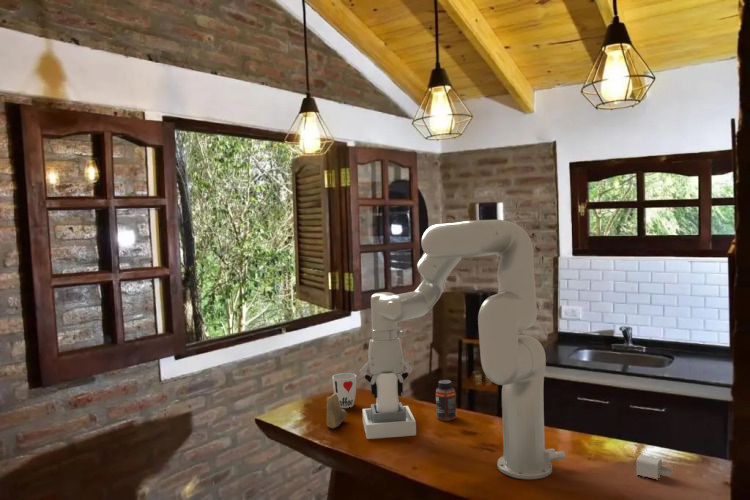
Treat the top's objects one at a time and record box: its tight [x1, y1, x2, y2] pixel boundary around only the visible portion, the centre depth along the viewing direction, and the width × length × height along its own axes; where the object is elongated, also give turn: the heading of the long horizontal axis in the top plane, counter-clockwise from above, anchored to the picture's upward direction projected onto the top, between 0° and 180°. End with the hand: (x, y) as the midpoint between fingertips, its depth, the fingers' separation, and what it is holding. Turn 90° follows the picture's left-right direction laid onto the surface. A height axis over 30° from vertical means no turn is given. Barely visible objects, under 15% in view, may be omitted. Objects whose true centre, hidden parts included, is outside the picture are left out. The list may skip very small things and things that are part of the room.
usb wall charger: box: [635, 454, 675, 478], centre depth 122 cm, size 4×7×4 cm, turn 50°
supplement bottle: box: [435, 379, 457, 422], centre depth 166 cm, size 6×6×11 cm
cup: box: [331, 372, 357, 409], centre depth 182 cm, size 8×8×10 cm
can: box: [375, 372, 399, 413], centre depth 159 cm, size 6×6×12 cm
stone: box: [326, 393, 348, 429], centre depth 164 cm, size 9×5×10 cm, turn 155°
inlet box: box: [362, 401, 417, 440], centre depth 160 cm, size 14×14×6 cm
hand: (387, 395), depth 159 cm, fingers closed on can, 6 cm apart
